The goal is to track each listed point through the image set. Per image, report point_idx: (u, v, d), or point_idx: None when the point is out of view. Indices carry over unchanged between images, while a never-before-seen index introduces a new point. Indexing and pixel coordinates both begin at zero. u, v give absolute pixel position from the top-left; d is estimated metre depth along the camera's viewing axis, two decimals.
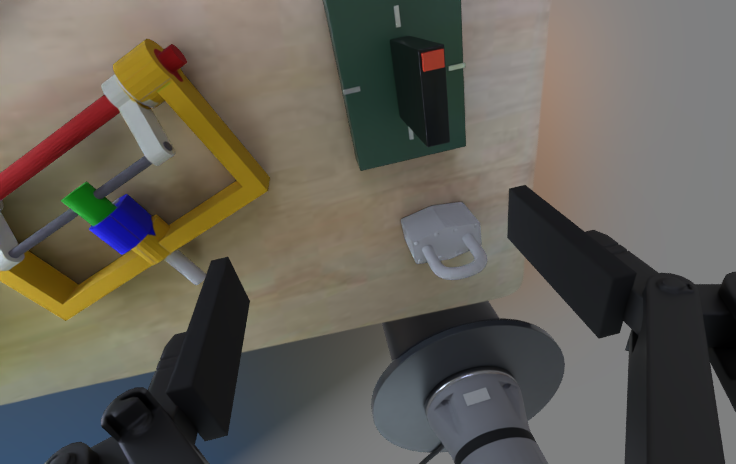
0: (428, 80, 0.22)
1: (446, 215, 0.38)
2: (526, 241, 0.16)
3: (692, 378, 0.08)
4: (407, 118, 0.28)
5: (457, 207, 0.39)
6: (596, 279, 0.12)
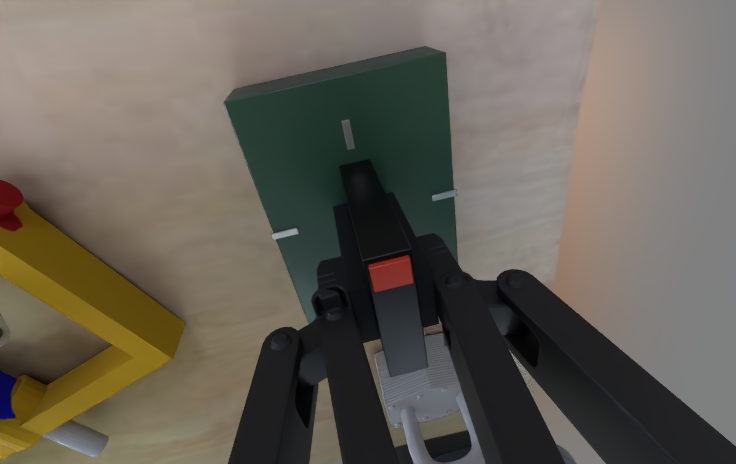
0: (385, 298, 0.12)
1: (433, 360, 0.28)
2: None
3: (498, 358, 0.10)
4: None
5: None
6: None
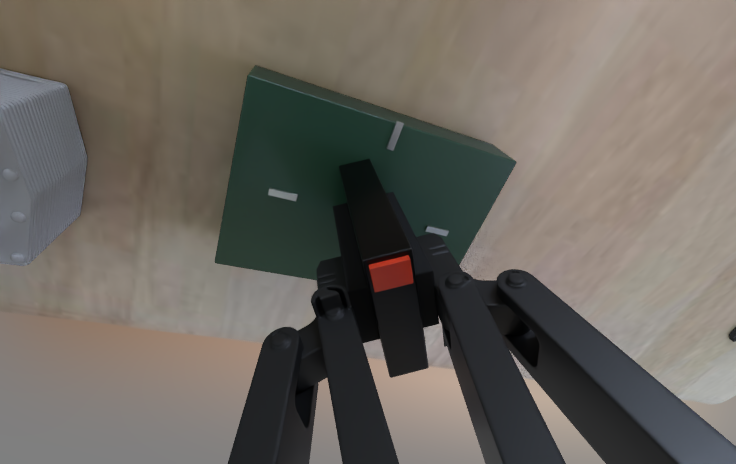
0: (385, 299, 0.12)
1: (60, 193, 0.17)
2: None
3: (498, 358, 0.10)
4: None
5: (71, 210, 0.19)
6: None
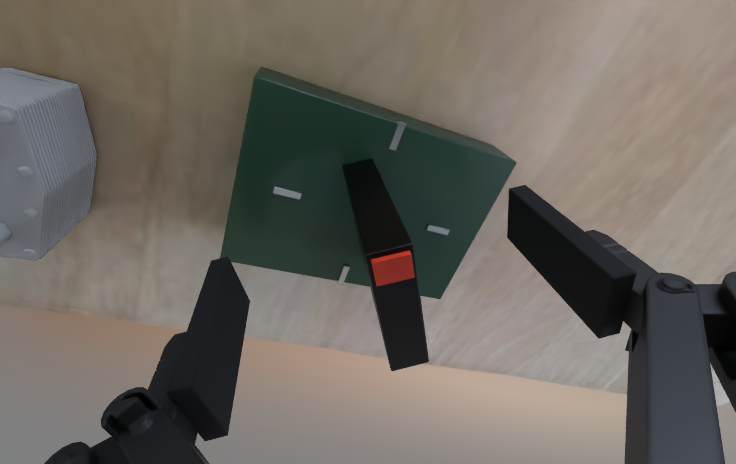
0: (386, 293, 0.13)
1: (71, 190, 0.17)
2: (526, 241, 0.16)
3: (692, 378, 0.08)
4: None
5: (81, 207, 0.19)
6: (596, 279, 0.12)
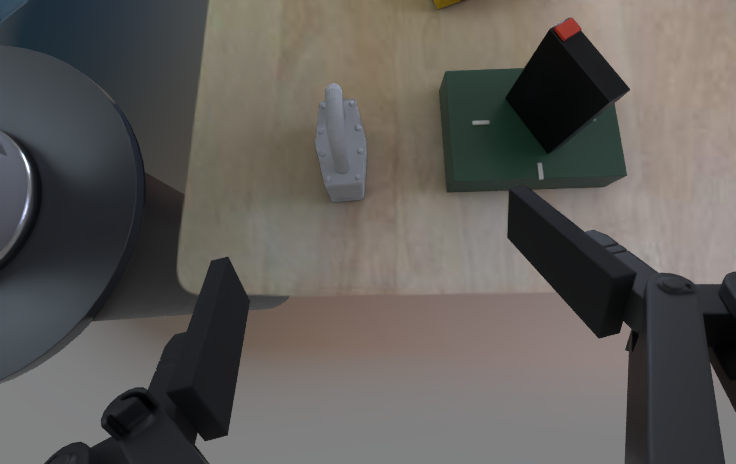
0: (572, 46, 0.23)
1: (365, 160, 0.30)
2: (526, 241, 0.16)
3: (692, 378, 0.08)
4: (561, 131, 0.27)
5: (364, 184, 0.31)
6: (596, 279, 0.12)
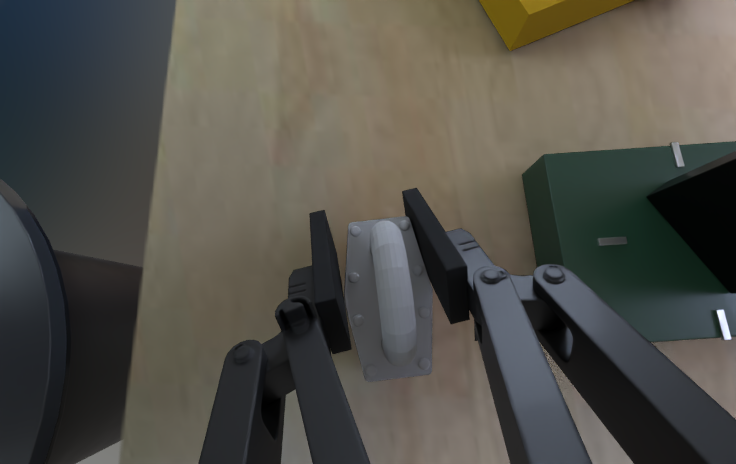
0: None
1: None
2: None
3: (530, 355, 0.10)
4: None
5: None
6: (441, 271, 0.13)
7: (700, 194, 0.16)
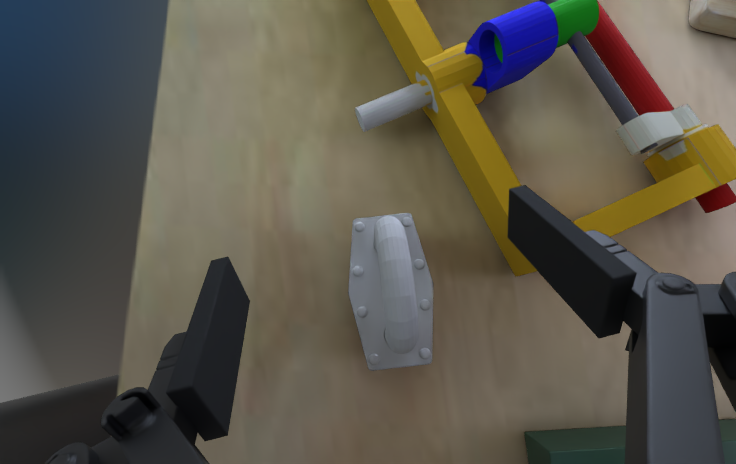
0: None
1: None
2: (526, 241, 0.16)
3: (692, 378, 0.08)
4: None
5: None
6: (596, 279, 0.12)
7: None
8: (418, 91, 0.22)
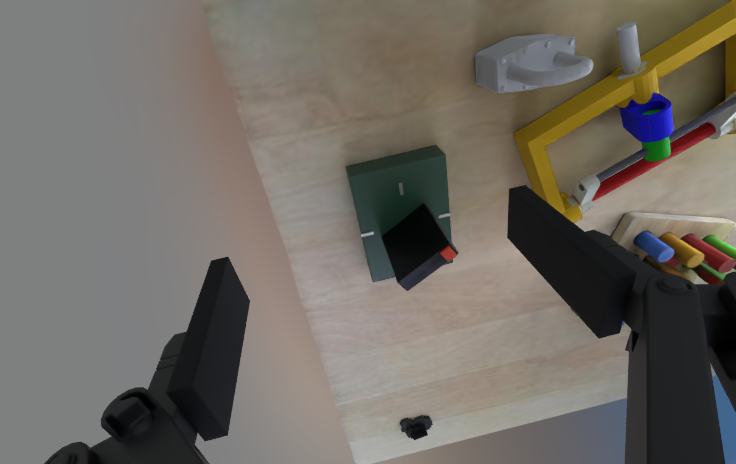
0: (436, 258, 0.33)
1: None
2: (526, 241, 0.16)
3: (692, 378, 0.08)
4: (391, 247, 0.38)
5: None
6: (596, 279, 0.12)
7: (424, 219, 0.37)
8: (635, 65, 0.35)
